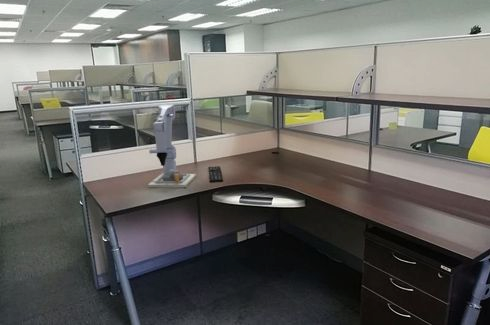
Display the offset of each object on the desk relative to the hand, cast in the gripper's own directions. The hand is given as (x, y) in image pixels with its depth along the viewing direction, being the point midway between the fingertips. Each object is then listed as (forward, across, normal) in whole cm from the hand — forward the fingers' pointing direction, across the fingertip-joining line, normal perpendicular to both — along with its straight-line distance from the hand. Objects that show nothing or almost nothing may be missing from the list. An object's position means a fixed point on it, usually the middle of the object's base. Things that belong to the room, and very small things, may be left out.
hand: (163, 165), depth 212 cm
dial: (+8, +7, -4) cm, 11 cm away
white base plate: (+9, +6, -2) cm, 11 cm away
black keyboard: (+10, +28, +14) cm, 33 cm away
